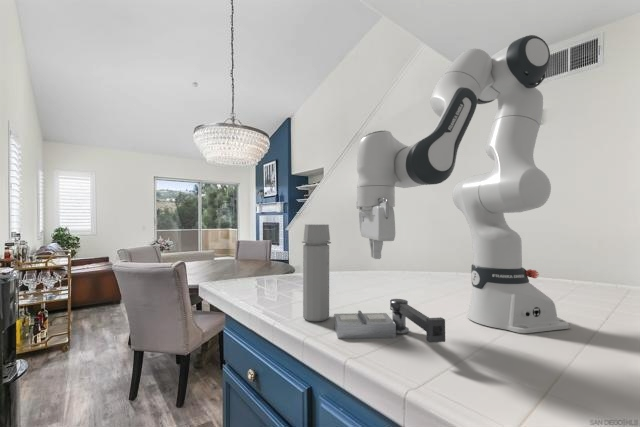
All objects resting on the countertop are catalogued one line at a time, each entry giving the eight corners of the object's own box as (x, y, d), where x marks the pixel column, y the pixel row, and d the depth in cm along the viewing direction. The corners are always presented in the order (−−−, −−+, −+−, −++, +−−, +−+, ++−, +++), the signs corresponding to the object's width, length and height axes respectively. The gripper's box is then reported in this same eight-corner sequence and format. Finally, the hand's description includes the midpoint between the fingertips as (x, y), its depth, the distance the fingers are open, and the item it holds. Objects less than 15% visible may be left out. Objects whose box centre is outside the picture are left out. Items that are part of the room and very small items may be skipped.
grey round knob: (405, 327, 73) (405, 308, 73) (411, 334, 69) (411, 314, 69) (387, 327, 73) (387, 309, 73) (392, 334, 69) (392, 314, 69)
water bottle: (328, 323, 76) (328, 224, 76) (298, 321, 77) (298, 224, 78) (333, 313, 85) (333, 224, 85) (306, 311, 86) (307, 224, 87)
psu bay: (386, 325, 75) (386, 309, 75) (395, 337, 67) (395, 320, 67) (334, 325, 74) (334, 310, 74) (337, 338, 66) (337, 321, 66)
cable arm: (387, 311, 73) (387, 295, 73) (403, 310, 73) (403, 294, 74) (427, 342, 54) (427, 320, 54) (447, 341, 55) (447, 319, 55)
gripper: (402, 196, 61) (403, 264, 61) (378, 202, 82) (378, 253, 81) (372, 196, 61) (372, 264, 61) (355, 202, 81) (355, 253, 81)
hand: (375, 258), depth 71 cm, fingers closed
